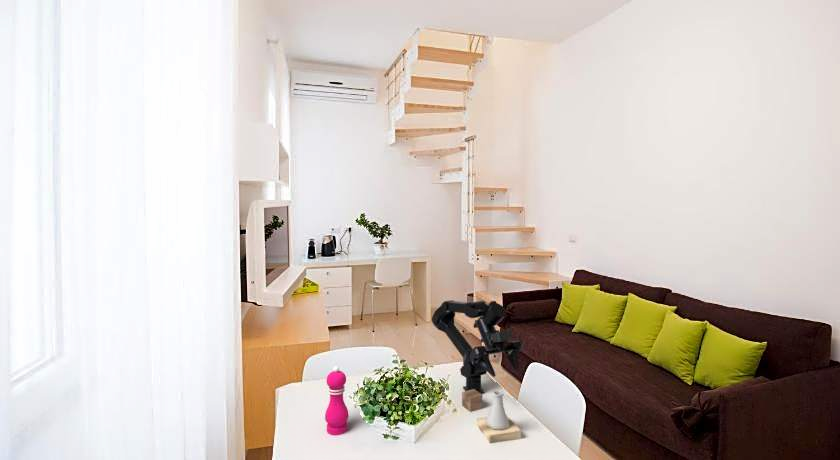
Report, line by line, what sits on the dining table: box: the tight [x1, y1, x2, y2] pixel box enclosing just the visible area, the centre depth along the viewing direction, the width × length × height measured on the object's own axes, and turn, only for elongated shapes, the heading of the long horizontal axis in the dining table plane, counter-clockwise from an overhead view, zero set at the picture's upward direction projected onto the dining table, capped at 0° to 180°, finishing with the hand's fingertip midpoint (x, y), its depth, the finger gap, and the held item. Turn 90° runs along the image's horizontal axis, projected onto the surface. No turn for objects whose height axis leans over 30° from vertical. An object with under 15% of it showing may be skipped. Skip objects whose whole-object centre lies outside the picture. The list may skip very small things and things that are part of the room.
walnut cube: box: [461, 389, 483, 413], centre depth 141 cm, size 5×5×5 cm
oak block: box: [476, 414, 522, 444], centre depth 125 cm, size 10×10×3 cm
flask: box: [486, 389, 510, 430], centre depth 125 cm, size 7×7×10 cm
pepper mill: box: [324, 365, 350, 436], centre depth 127 cm, size 7×7×20 cm
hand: (506, 374), depth 136 cm, fingers open, 9 cm apart
